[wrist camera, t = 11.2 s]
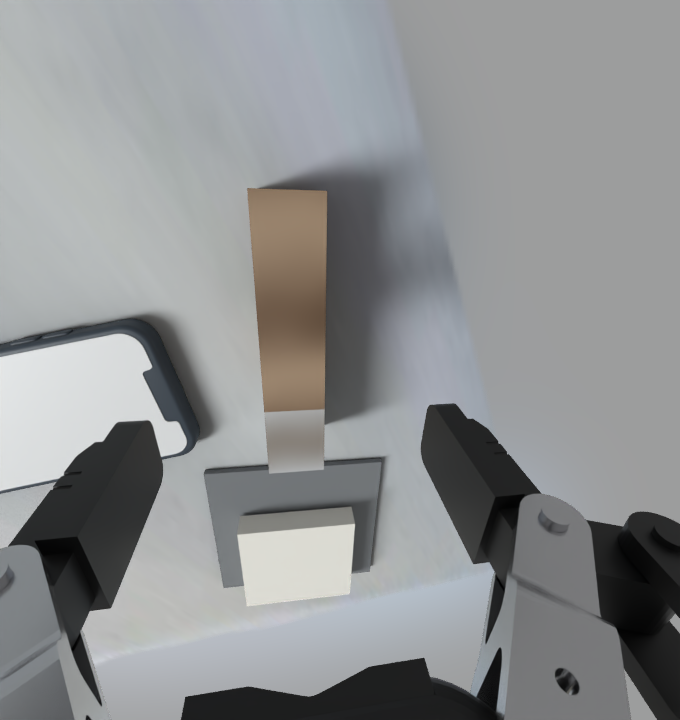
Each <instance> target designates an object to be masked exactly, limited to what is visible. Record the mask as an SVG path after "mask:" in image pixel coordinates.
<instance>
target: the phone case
mask: <svg viewBox="0 0 680 720" xmlns="http://www.w3.org/2000/svg"><path fill="white" fill-rule="evenodd" d="M142 420H149V421H150V422H151V423H152V425H153V428H154V432H155V436H156V440H157V444H158V447H159V451H160V455H161V459H167V458H172V457H177V456H181V455H184V454H187V453H188V452H190V451H191V450H192V449H193V448H194V446H195V444H196V442H197V439H198V437H199V433H200V428H199V425H198V422H197V420H196V418H195V416H194V413H193V411H192V409H191V406H190V404H189V402H188V400H187V397H186V395H185V393H184V391H183V388H182V386H181V384H180V381H179V379H178V377H177V375H176V372H175V370H174V368H173V366H172V363H171V361H170V359H169V357H168V354H167V352H166V350H165V347H164V345H163V343H162V341H161V338H160V336H159V334H158V333H157V332H156V330H155V329H154V328H153V327H152V326H150V325H149V324H147V323H146V322H143V321H141V320H137V319H125V320H120V321H115V322H110V323H105V324H100V325H95V326H90V327H85V328H80V329H75V330H73V329H68V330H63V331H58V332H53V333H49V334H46V335H44V336H40V335H38V336H33V337H28V338H23V339H18V340H15V341H13V342H10V343H5V344H0V494H1V493H6V492H11V491H15V490H20V489H25V488H30V487H34V486H39V485H44V484H49V483H53V482H57V481H58V480H59V478H60V477H61V476H64V472H65V470H66V469H67V468H68V466H69V465H70V464H71V462H72V461H73V460H74V458H75V457H76V456H77V455H79V454H80V453H81V452H83V451H84V450H85V449H87V448H88V447H89V446H91V445H92V444H93V443H95V442H103V441H104V439H105V438H106V436H107V435H108V434H109V432H110V431H111V429H112V428H113V426H114V425H115V424H116V423H117V422H125V421H142Z"/></svg>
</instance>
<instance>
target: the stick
mask: <svg viewBox="0 0 680 720" xmlns="http://www.w3.org/2000/svg"><path fill="white" fill-rule="evenodd" d="M247 191H248V204H249V217H250V230H251V243H252V256H253V269H254V282H255V296H256V309H257V322H258V335H259V348H260V361H261V374H262V387H263V400H264V413H265V426H266V439H267V452H268V465H269V474H271V473H285V472H298V471H312V470H324V416H325V332H326V247H327V191H316V190H285V189H255V188H247Z"/></svg>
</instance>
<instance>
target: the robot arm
mask: <svg viewBox="0 0 680 720" xmlns="http://www.w3.org/2000/svg"><path fill="white" fill-rule="evenodd" d="M421 455H422V460H423V463H424V465H425V467H426V470H427V472H428V474H429V476H430V478H431V480H432V482H433V484H434V486H435V488H436V490H437V492H438V494H439V496H440V498H441V500H442V502H443V504H444V506H445V508H446V510H447V512H448V514H449V516H450V518H451V520H452V522H453V524H454V526H455V528H456V530H457V532H458V534H459V536H460V538H461V540H462V542H463V544H464V546H465V548H466V550H467V552H468V554H469V556H470V558H471V560H472V562H473V564H478V563H486V562H490V564H491V566H492V568H493V569H494V571H495V572H494V574H493V578H492V582H491V589H490V595H489V601H488V607H487V613H486V619H485V625H484V632H483V638H482V643H481V649H480V654H479V659H478V663H477V667H476V670H475V674H474V678H473V682H472V687H471V691H470V693H469V692H467V691H466V690H464V689H462V688H460V687H458V686H456V685H454V684H452V683H449V682H446V681H443V680H441V679H438V678H433V677H430V676H429V672H428V669H427V666H426V662H425V659H424V658H420V659H414V660H408V661H401V662H395V663H390V664H383V665H377V666H372V667H368V668H366V669H364V670H363V671H361V672H359V673H357V674H355V675H353V676H351V677H349V678H348V679H346V680H344V681H342V682H340V683H338V684H336V685H334V686H332V687H331V688H329V689H327V690H325V691H323V692H321V693H319V694H317V695H315V696H311V697H307V696H300V695H294V694H288V693H283V692H276V691H271V690H265V689H259V688H254V687H244V688H237V689H231V690H225V691H218V692H213V693H206V694H200V695H194V696H188V697H185V702H184V708H183V713H182V717H181V720H631V715H630V708H629V701H628V694H627V688H626V680H625V673H624V669H625V671H626V672H627V674H628V675H629V677H630V678H631V680H632V682H633V683H634V685H635V686H636V687H637V689H638V691H639V692H640V694H641V695H642V697H643V698H644V700H645V702H646V703H647V705H648V706H649V708H650V709H651V711H652V712H653V714H654V715H655V717H656V718H657V720H680V633H679V632H678V631H677V630H676V629H675V627H674V626H673V625H672V624H671V623H670V621H669V620H670V619H671V618H672V617H673V616H674V614H675V613H676V615H677V616H678V617H679V618H680V524H679V523H677V522H675V521H673V520H671V519H669V518H666V517H664V516H661V515H658V514H655V513H650V512H635V513H633V514H631V515H630V516H629V518H628V520H627V521H626V523H625V525H624V526H623V527H622V526H616V525H611V524H605V523H600V522H594V521H588V520H586V519H584V517H583V516H582V515H581V514H580V513H579V512H578V511H577V510H576V509H575V508H573V507H572V506H571V505H569V504H568V503H566V502H564V501H562V500H561V499H558V498H556V497H553V496H550V495H545V494H541V493H540V491H539V490H538V489H537V488H536V487H535V485H534V484H533V483H532V482H531V480H530V479H529V478H528V477H527V476H526V474H525V473H524V472H523V471H522V470H521V469H520V467H519V466H518V465H517V464H516V463H515V461H514V460H513V459H512V458H511V456H510V455H509V454H508V455H507V451H506V450H505V449H504V448H503V447H502V445H501V444H498V440H497V439H496V438H495V437H494V436H493V434H492V433H491V432H490V431H489V430H488V429H487V428H486V427H484V426H483V425H481V424H480V423H478V422H477V421H475V420H474V419H467V418H466V416H465V415H464V414H463V412H462V411H461V410H460V409H459V407H458V406H457V405H456V404H436V405H430V406H429V407H428V409H427V413H426V419H425V424H424V430H423V436H422V442H421ZM162 477H163V463H162V459H161V455H160V451H159V447H158V444H157V440H156V436H155V432H154V428H153V425H152V423H151V422H150V421H149V420H142V421H125V422H117V423H116V424H115V425H114V426H113V428H112V429H111V431H110V432H109V434H108V435H107V436H106V438H105V439H104V441H103V442H95V443H93V444H92V445H91V446H89V447H88V448H87V449H85V450H84V451H83V452H81V453H80V454H79V455H77V456H76V457H75V458H74V460H73V461H72V462H71V464H70V465H69V466H68V468H67V469H66V470H65V472H64V476H61V477H60V478H59V480H58V481H57V482H56V484H55V485H54V486H53V490H50V492H49V493H48V494H47V496H46V497H45V498H44V500H43V501H42V502H41V504H40V505H39V506H38V507H37V509H36V510H35V511H34V513H33V514H32V515H31V517H30V518H29V519H28V521H27V522H26V523H25V525H24V526H23V527H22V529H21V530H20V531H19V533H18V534H17V535H16V537H15V538H14V539H13V541H12V542H11V543H10V545H9V546H8V547H5V548H2V549H0V720H112V719H111V717H110V714H109V711H108V708H107V705H106V702H105V699H104V696H103V692H102V689H101V686H100V683H99V680H98V677H97V674H96V670H95V667H94V664H93V661H92V658H91V654H90V651H89V648H88V645H87V642H86V639H85V635H84V633H83V631H82V627H83V625H84V622H85V620H86V618H87V616H88V614H89V611H93V610H101V609H109V608H111V607H112V604H113V602H114V599H115V597H116V594H117V592H118V589H119V587H120V584H121V582H122V579H123V577H124V575H125V572H126V570H127V567H128V565H129V562H130V560H131V557H132V555H133V552H134V550H135V547H136V545H137V542H138V540H139V538H140V535H141V533H142V530H143V528H144V525H145V523H146V520H147V518H148V515H149V513H150V510H151V508H152V505H153V503H154V501H155V498H156V496H157V493H158V491H159V488H160V486H161V482H162Z"/></svg>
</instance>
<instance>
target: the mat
mask: <svg viewBox="0 0 680 720" xmlns="http://www.w3.org/2000/svg"><path fill="white" fill-rule="evenodd" d="M381 464H382V462H381V459H380V458H377V459H362V460H347V461H332V462H324V470H312V471H298V472H285V473H271V474H269V466H258V467H243V468H229V469H214V470H205V472H204V479H205V484H206V490H207V496H208V502H209V507H210V513H211V519H212V524H213V530H214V536H215V541H216V547H217V553H218V558H219V564H220V570H221V575H222V581H223V587H224V588H228V587H237V586H244V581H243V574H242V566H241V559H240V551H239V544H238V537H237V533H238V526H239V519H240V516H248V515H259V514H271V513H283V512H294V511H306V510H318V509H329V508H341V507H352V512H353V516H354V521H355V531H354V544H353V557H352V571H351V574H352V573H361V572H370V564H371V555H372V546H373V537H374V528H375V519H376V510H377V500H378V491H379V482H380V473H381Z"/></svg>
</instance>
